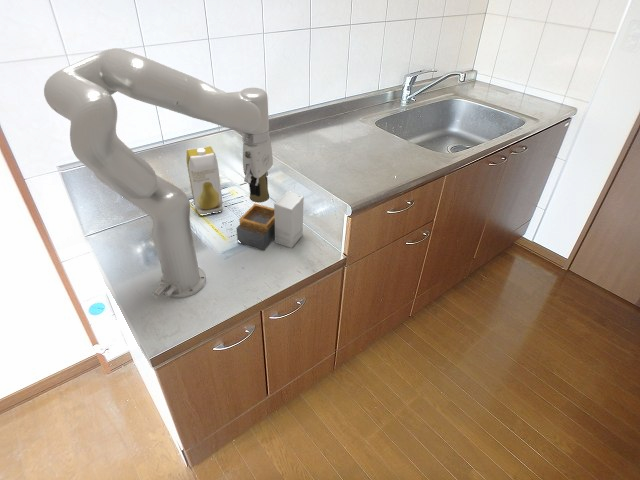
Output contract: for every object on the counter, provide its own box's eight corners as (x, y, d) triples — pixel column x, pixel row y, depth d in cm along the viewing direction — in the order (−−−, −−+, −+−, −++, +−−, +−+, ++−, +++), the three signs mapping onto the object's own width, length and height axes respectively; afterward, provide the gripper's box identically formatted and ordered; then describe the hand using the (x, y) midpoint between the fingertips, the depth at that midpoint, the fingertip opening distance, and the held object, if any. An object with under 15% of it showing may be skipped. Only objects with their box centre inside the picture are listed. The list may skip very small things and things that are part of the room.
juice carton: (198, 218, 142) (187, 155, 127) (193, 207, 147) (182, 144, 132) (225, 213, 145) (217, 150, 130) (219, 201, 151) (211, 140, 136)
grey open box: (264, 250, 130) (263, 230, 125) (238, 242, 132) (235, 222, 127) (283, 226, 140) (283, 207, 135) (258, 220, 143) (257, 200, 138)
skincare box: (287, 229, 139) (286, 189, 129) (304, 235, 137) (305, 195, 127) (274, 243, 133) (272, 202, 123) (292, 249, 131) (292, 208, 121)
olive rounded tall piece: (251, 203, 124) (248, 171, 117) (248, 193, 129) (245, 161, 122) (270, 201, 126) (269, 169, 119) (267, 191, 130) (266, 159, 123)
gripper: (252, 149, 107) (256, 208, 119) (281, 126, 120) (282, 181, 131) (227, 144, 109) (234, 202, 121) (258, 122, 122) (261, 176, 133)
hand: (259, 190), depth 126 cm, fingers closed on olive rounded tall piece, 4 cm apart
